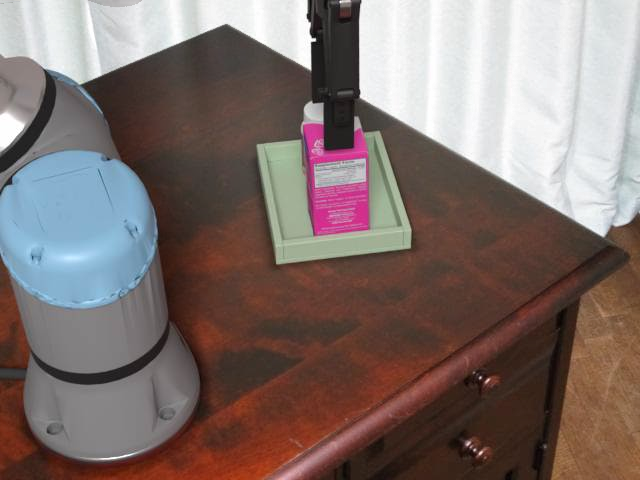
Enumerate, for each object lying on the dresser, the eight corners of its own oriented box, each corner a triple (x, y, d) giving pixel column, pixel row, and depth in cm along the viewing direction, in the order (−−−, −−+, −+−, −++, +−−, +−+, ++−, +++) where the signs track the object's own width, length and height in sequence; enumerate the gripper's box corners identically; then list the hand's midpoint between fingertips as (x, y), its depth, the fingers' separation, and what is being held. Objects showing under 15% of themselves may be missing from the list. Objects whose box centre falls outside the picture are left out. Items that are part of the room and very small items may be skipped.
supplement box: (305, 210, 119) (301, 120, 111) (361, 204, 120) (361, 114, 112) (312, 247, 115) (309, 157, 107) (371, 241, 115) (372, 150, 108)
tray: (276, 264, 114) (275, 246, 112) (257, 162, 126) (256, 144, 124) (411, 248, 115) (411, 229, 113) (379, 148, 127) (379, 130, 126)
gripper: (271, -154, 100) (279, 69, 115) (303, -46, 85) (307, 193, 101) (356, -160, 101) (353, 62, 116) (402, -54, 86) (391, 184, 102)
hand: (332, 122), depth 108 cm, fingers open, 7 cm apart
